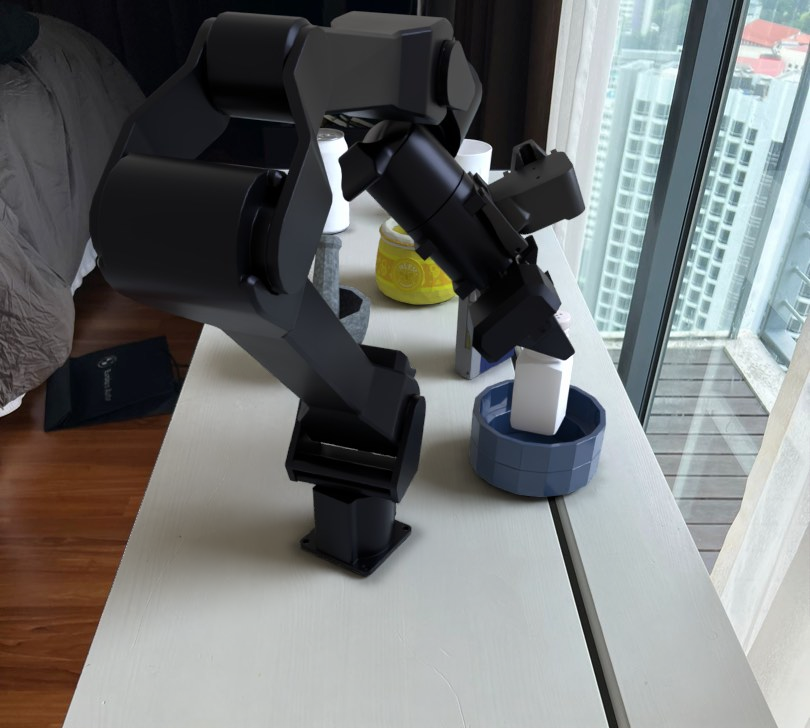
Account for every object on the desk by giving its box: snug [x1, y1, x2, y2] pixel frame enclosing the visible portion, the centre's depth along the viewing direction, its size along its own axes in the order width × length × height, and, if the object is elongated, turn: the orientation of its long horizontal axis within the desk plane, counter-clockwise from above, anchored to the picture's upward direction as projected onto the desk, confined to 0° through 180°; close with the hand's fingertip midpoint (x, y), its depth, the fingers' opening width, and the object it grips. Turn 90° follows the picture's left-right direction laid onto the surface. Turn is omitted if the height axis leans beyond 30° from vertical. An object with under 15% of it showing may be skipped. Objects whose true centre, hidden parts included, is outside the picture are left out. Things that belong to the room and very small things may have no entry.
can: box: [317, 127, 350, 235], centre depth 113 cm, size 6×6×12 cm
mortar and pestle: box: [311, 234, 371, 344], centre depth 83 cm, size 11×9×12 cm
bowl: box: [468, 378, 607, 498], centre depth 72 cm, size 11×11×6 cm
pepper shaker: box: [510, 308, 574, 435], centre depth 68 cm, size 4×4×10 cm
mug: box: [374, 216, 458, 305], centre depth 97 cm, size 13×11×12 cm
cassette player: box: [453, 290, 516, 380], centre depth 84 cm, size 7×2×12 cm, turn 137°
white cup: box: [455, 138, 493, 185], centre depth 117 cm, size 8×8×10 cm
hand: (565, 345), depth 66 cm, fingers closed on pepper shaker, 3 cm apart
